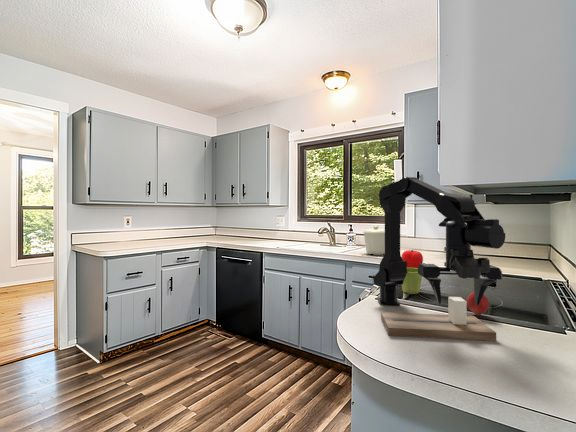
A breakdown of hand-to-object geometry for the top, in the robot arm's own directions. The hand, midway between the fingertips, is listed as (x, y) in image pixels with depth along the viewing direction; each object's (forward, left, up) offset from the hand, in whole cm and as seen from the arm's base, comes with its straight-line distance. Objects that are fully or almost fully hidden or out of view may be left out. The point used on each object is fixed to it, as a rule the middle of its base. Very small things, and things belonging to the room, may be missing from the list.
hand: (458, 304), depth 80 cm
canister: (-143, -2, -7) cm, 143 cm away
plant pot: (-38, -3, -7) cm, 39 cm away
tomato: (-90, +11, -7) cm, 91 cm away
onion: (-13, +10, -7) cm, 18 cm away
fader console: (0, -6, -7) cm, 9 cm away
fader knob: (0, 0, -5) cm, 5 cm away
